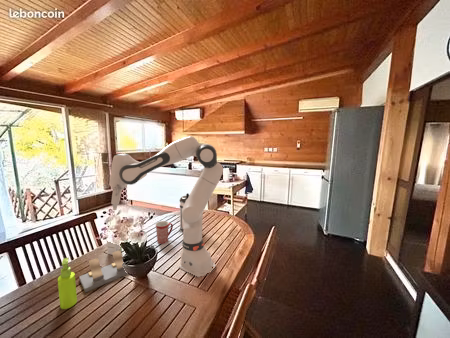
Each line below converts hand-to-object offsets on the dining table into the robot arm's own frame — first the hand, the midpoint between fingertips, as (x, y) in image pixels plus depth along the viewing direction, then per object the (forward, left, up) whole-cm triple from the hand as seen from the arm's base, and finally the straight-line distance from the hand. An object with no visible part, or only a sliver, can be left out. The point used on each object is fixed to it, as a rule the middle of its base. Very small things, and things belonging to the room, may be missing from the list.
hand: (115, 206), depth 113 cm
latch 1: (-7, +13, -29) cm, 33 cm away
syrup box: (+14, -3, -35) cm, 38 cm away
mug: (+6, -34, -35) cm, 49 cm away
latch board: (-7, +7, -35) cm, 36 cm away
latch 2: (-7, +2, -29) cm, 30 cm away
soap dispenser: (-15, +25, -35) cm, 46 cm away
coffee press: (+12, -58, -35) cm, 68 cm away
